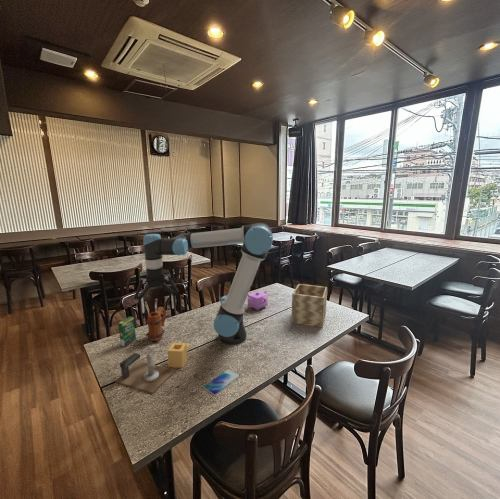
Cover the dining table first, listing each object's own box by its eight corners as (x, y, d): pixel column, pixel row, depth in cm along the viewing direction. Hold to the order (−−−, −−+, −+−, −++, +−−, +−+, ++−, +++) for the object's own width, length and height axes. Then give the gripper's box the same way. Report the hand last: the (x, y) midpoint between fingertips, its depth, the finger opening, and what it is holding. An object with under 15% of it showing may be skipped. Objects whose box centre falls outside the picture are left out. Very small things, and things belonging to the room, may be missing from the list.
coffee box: (124, 347, 136) (121, 323, 133) (120, 346, 137) (117, 322, 134) (136, 339, 143) (134, 316, 140) (132, 338, 144) (130, 315, 142)
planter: (325, 313, 172) (327, 287, 169) (322, 327, 155) (324, 298, 151) (297, 309, 179) (298, 283, 175) (291, 322, 161) (292, 293, 158)
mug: (158, 344, 139) (156, 317, 136) (144, 342, 140) (141, 315, 137) (171, 330, 153) (170, 305, 150) (158, 328, 154) (156, 304, 151)
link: (182, 367, 120) (181, 351, 119) (168, 366, 121) (167, 350, 119) (193, 347, 136) (192, 333, 134) (180, 347, 136) (180, 332, 135)
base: (174, 372, 117) (173, 347, 115) (152, 394, 104) (150, 366, 102) (140, 362, 124) (137, 339, 121) (115, 382, 111) (112, 356, 109)
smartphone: (241, 375, 115) (215, 395, 103) (241, 376, 115) (215, 397, 103) (228, 367, 119) (202, 386, 108) (228, 369, 119) (202, 388, 108)
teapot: (267, 312, 175) (267, 296, 173) (247, 312, 176) (247, 296, 173) (267, 303, 190) (267, 288, 188) (248, 302, 191) (248, 288, 188)
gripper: (181, 262, 134) (184, 303, 138) (126, 268, 126) (131, 310, 130) (182, 266, 127) (185, 308, 131) (124, 272, 119) (129, 317, 123)
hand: (158, 309), depth 131 cm, fingers open, 13 cm apart
